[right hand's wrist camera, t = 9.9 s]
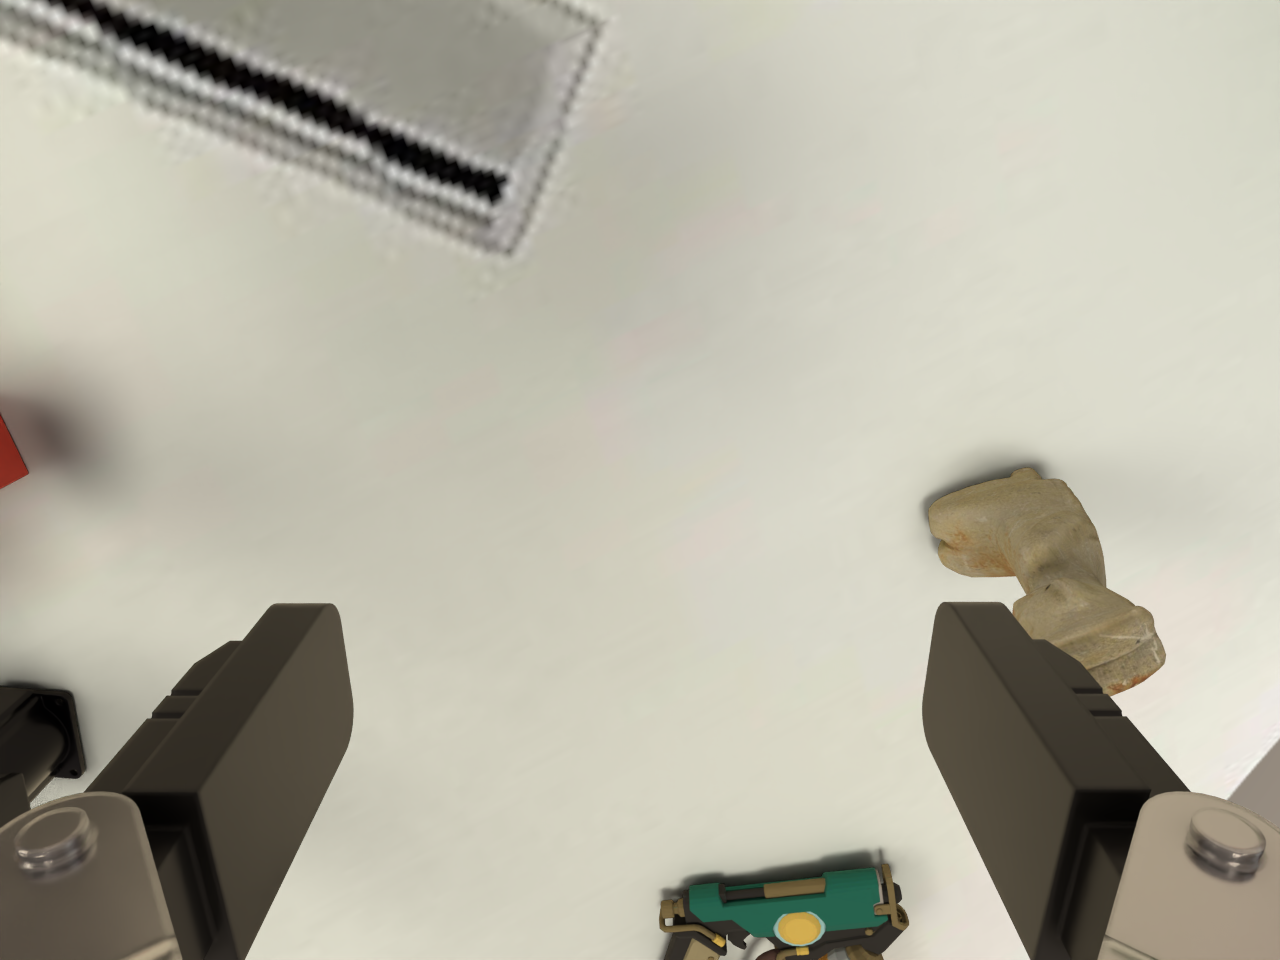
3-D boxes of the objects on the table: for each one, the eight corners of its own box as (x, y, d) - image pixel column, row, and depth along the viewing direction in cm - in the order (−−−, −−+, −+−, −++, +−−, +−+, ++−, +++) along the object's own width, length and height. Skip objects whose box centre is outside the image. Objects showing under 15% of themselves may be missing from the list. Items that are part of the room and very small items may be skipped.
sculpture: (911, 487, 48) (1022, 629, 34) (1036, 440, 47) (1206, 566, 33) (938, 571, 50) (1055, 738, 36) (1060, 528, 49) (1229, 682, 35)
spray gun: (649, 982, 63) (668, 822, 58) (872, 1008, 63) (911, 849, 58) (646, 1036, 59) (666, 869, 54) (885, 1065, 59) (927, 898, 54)
